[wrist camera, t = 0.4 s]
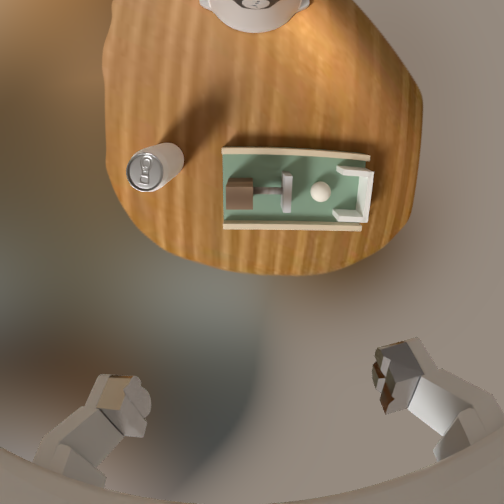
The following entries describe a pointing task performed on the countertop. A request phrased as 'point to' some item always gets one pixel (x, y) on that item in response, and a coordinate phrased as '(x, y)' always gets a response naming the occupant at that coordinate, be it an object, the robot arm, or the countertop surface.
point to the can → (154, 166)
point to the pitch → (304, 176)
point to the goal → (362, 196)
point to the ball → (320, 191)
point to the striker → (243, 190)
